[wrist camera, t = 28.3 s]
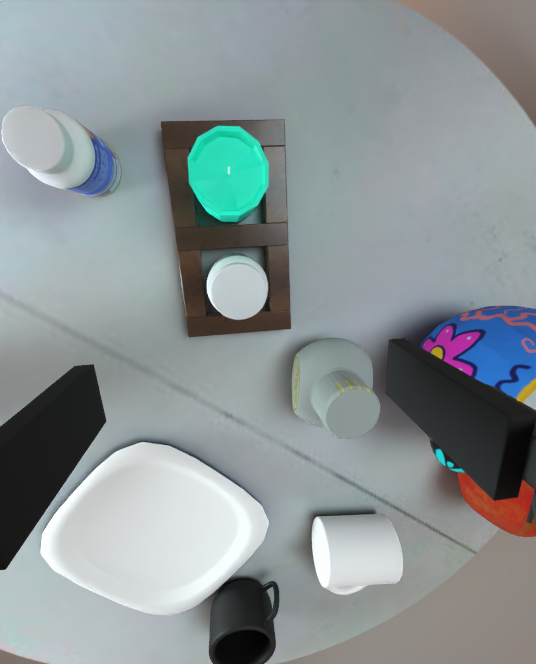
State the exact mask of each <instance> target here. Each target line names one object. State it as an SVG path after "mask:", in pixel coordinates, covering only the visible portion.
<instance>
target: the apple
mask: <svg viewBox="0 0 536 664" xmlns="http://www.w3.org/2000/svg"><path fill="white" fill-rule="evenodd" d="M457 476H458V480H459V484H460V489H461V493H462V496H463V497H464V499H465V501H466V502H467V503H468V504H469V506H470V507H471V508H472V509H474V510H475V511H476V512H477V513H478V514H480V515H481V516H483V517H484V518H486V519H487V520H488V521H490V522H491V523H493V524H494V525H496V526H497V527H499V528H501V529H503V530H505V531H507V532H509V533H511V534H514V535H517V536H522V537H533V536H536V526H535V519H533V520H532V523H528V522H526V521H527V517H528V513H529V509H530V505H531V501H532V497H533V493H534V489H533V488H532V487H531V486H530V485H529V484H527V483H526V482H525V481H524V480H523V479H522V483H521V487H520V491H519V496H518V498H511V499H504V500H497V501H493V500H492V499H491V498H490V497H489V496H488V495H487V494H486V493H485V492H484V491H483V490H482V489H481V488H480V487H479V486H478V485H477V484H476V483H475V482H474V481H473V480H472V479H471V478H470V477H469V476H468V475H467V474H466V473H459V472H457Z"/></svg>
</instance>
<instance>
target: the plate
mask: <svg viewBox="0 0 536 664" xmlns="http://www.w3.org/2000/svg"><path fill="white" fill-rule="evenodd" d="M268 525H269V520H268V518H267V515H266V513H265V511H264V509H263V506H262V504H261V503H260V502H258V501H257V500H256V499H255V498H254V497H253V496H251V495H250V494H249V493H248V492H247V491H246V490H244V489H243V488H242V487H240V486H239V485H237V484H236V483H234V482H233V481H231V480H230V479H228V478H227V477H225V476H224V475H223V474H221V473H219V472H218V471H216V470H215V469H213V468H212V467H210V466H208V465H207V464H205V463H204V462H202V461H200V460H199V459H197V458H196V457H194V456H192V455H189V454H187V453H185V452H183V451H181V450H179V449H177V448H175V447H173V446H171V445H168V444H160V443H153V442H146V441H141V442H138V443H135V444H133V445H130V446H127V447H124V448H122V449H119V450H116V451H115V452H114V453H113V454H112V455H111V456H109V457H108V458H107V459H106V460H105V461H103V462H102V463H101V464H100V465H99V466H98V467H96V468H95V469H94V470H93V471H92V472H91V473H90V475H89V476H88V477H87V478H86V479H85V480H84V481H83V482H82V483H81V484H80V485H79V486H78V488H77V489H76V490H75V491H74V492H73V493H72V494H71V495H70V497H69V498H68V499H67V500H66V501H65V502H64V504H63V505H62V506H61V507H60V508H59V509H58V510H57V512H56V513H55V515H54V516H53V518H52V519H51V521H50V522H49V524H48V525H47V527H46V528H45V530H44V532H43V533H42V541H41V552H40V553H41V555H42V556H43V557H44V559H45V560H46V561H47V562H48V564H49V565H50V566H51V567H52V569H53V570H54V571H56V572H58V573H59V574H61V575H63V576H64V577H66V578H68V579H69V580H71V581H73V582H74V583H76V584H78V585H80V586H82V587H84V588H86V589H88V590H90V591H92V592H95V593H97V594H99V595H101V596H103V597H105V598H108V599H110V600H112V601H115V602H117V603H119V604H121V605H124V606H126V607H129V608H132V609H135V610H138V611H141V612H145V613H148V614H154V615H175V614H178V613H181V612H183V611H186V610H189V609H191V608H194V607H195V606H197V605H198V604H199V603H201V602H202V601H203V600H205V599H206V598H207V597H208V596H210V595H211V594H212V593H214V592H215V591H216V590H217V589H218V588H219V587H220V586H221V585H222V584H223V583H224V582H225V581H227V580H228V579H229V578H230V577H231V576H232V575H233V574H234V573H235V572H236V571H237V570H238V569H239V568H240V567H241V566H242V565H243V564H244V563H245V562H246V561H247V560H248V559H249V558H250V557H251V556H252V554H253V553H254V552H255V551H256V550H257V548H258V547H259V546H260V545H261V543H262V542H263V541H264V538H265V535H266V532H267V529H268Z"/></svg>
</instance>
